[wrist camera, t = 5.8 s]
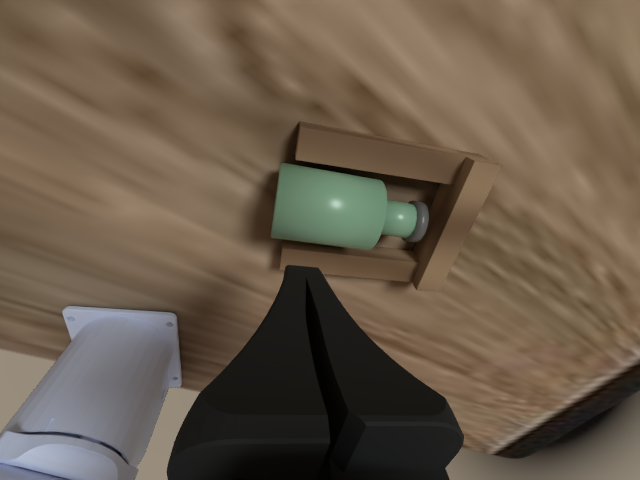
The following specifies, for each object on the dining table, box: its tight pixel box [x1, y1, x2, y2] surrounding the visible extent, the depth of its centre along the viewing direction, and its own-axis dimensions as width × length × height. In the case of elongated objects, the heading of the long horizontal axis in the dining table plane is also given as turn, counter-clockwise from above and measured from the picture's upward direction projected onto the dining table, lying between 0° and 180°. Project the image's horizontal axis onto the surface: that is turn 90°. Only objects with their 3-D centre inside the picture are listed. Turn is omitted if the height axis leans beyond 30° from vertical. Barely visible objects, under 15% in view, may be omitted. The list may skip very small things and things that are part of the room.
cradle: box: [280, 122, 502, 292], centre depth 19 cm, size 10×12×2 cm
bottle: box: [271, 162, 429, 250], centre depth 18 cm, size 4×4×9 cm
